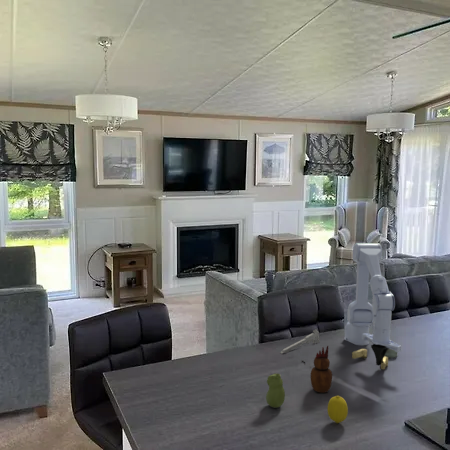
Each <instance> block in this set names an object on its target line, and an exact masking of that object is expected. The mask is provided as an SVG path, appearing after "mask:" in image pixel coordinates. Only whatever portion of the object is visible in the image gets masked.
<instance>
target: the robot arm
mask: <svg viewBox="0 0 450 450" xmlns="http://www.w3.org/2000/svg"><path fill="white" fill-rule="evenodd" d="M382 256H383V247H382V245H381V243H379V242H377V243H366V242H365V243H361V242H360V243H358V242H356V243H355V244H354V245H353V248H352V261H353V262H355V263H356V281H355V283H356V287H355V300H353V301H351V302H350V303H349V304H348V307H347V310H346V311H347V312H346V316H347V317H346V319H347V322H346V324H345V326H344V340H345V341H347V342H349V343H351V344H354V345H356V346H368V345H369V343H370V342H371V343H372V344H371V345H370V346H371V347H370V348H371V350H372V351H373V354H374V356H375V357H374V358H375V363H376V364H375V365H376V366H381V361H382V360H383V358H384V355H385V353H386V352H387V350H388V349H389V348H390V349H392V350H395V352H397V353H399V352H402V345H400V344H398V343H396V342H394V341H393V340H391V330H392V329H391V326H392V323H391V322H392V311H394V310H395V307H396V300H395V296H394V294H393V293H392V292H391V290H389V286H388V283H387V279H386V278H385V276H383V275H382V271H381V265H380V261H381V259H382ZM369 286H370V290H371V293H372V298H371V299H372V300H371V303H370V302H369ZM371 325H373V327H372V334H371V333H370V327H371Z"/></svg>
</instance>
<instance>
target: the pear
mask: <svg viewBox="0 0 450 450" xmlns="http://www.w3.org/2000/svg"><path fill="white" fill-rule="evenodd" d="M283 382H284V381H283V379H282V377H281V374H280V373H273V374H271V375H268V376H267V379H266V383H267V385H268V390H267V392H266V395H265V400H266V403H267V404H268V405H269V407H270V408H275V409H278V408H280V407H281V406H283V404H284V403H285V399H286V394H285V392H286V391H285V388H284V385H283V384H284V383H283Z"/></svg>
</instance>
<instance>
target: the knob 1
mask: <svg viewBox="0 0 450 450" xmlns="http://www.w3.org/2000/svg"><path fill="white" fill-rule="evenodd" d="M351 358H352V359H359V358H361V359H365V360H366V359H367V358H368V348H367V349H366V348H363V347H362V348H360V349H358V350H354V351H352V352H351Z"/></svg>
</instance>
